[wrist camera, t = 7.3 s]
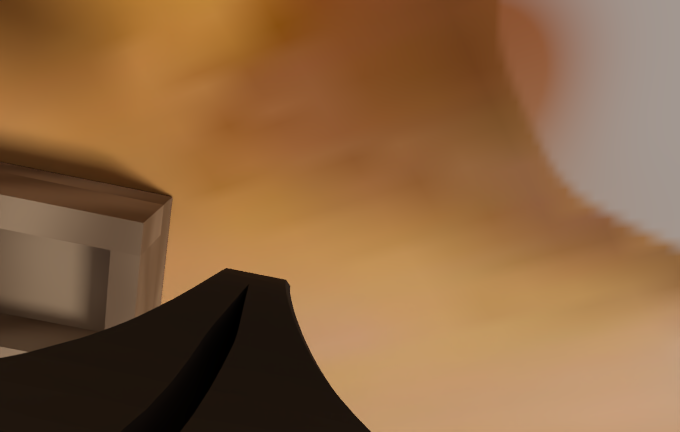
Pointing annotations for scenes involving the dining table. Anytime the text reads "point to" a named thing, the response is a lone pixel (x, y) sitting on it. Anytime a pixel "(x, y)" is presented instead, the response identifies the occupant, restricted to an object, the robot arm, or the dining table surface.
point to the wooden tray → (75, 256)
